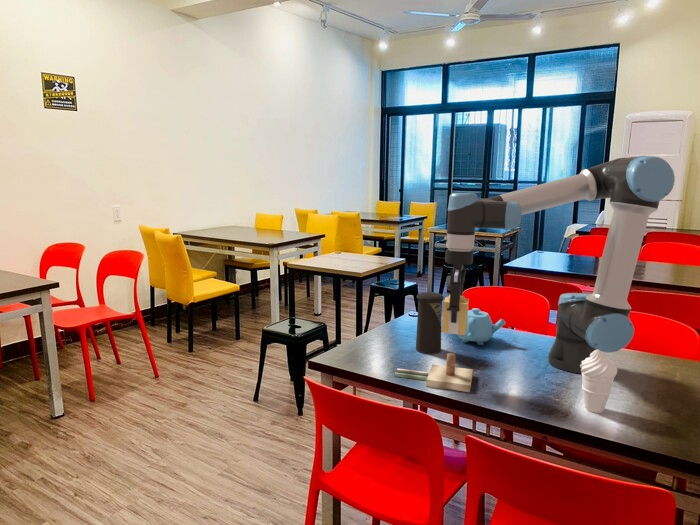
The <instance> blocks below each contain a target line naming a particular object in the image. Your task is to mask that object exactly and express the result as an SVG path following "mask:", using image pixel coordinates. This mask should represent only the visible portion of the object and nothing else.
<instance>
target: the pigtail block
mask: <svg viewBox="0 0 700 525" xmlns="http://www.w3.org/2000/svg"><path fill="white" fill-rule="evenodd" d="M473 373H474V369H473V368H472V369H471V368H464V367H456V354H455V353H452V352H449V353H447V354H446V365H440V364H431V367H430V369H429V371H428V372H427V371H419V370H413V369H405V368H396V370H395V372H394V375H393V376H394V377H396V378H404V379H405V378H406V379H411V380H412V379H413V380H420V381H425V386H426V387H430V388H435V389H442V390H451V391H459V392H465V393H470V392H471V387H472V380H473V377H474V376H473Z"/></svg>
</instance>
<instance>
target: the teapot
mask: <svg viewBox="0 0 700 525" xmlns="http://www.w3.org/2000/svg"><path fill="white" fill-rule="evenodd" d="M506 323H507V322H506V321H505V320H504V319H502V318H500V319H499V320H498V321H497V322H496V323H494V324H493V321H492V319H491V316H490V315H489V313H488V312H485V311H481V310H480V308H475V307H474V308H472V309H471V310H470V309H468V317H467V329H466V333H465V335H460V334H456V336H457V337H458V338H459V339H461V341H462V342H461V343H468V342H476V344H477V345H480V346H483V345H484V344H485V343H486V342H488V341H490V340H491V338H492V337H493V336H494V333H495V332H497V331H498V330H500V328H502V327H503V326H505V325H506Z"/></svg>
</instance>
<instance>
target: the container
mask: <svg viewBox="0 0 700 525" xmlns="http://www.w3.org/2000/svg"><path fill="white" fill-rule="evenodd" d="M416 299H417V319H416V320H417V321H416V322H417V324H416V339H415V350H416V351H417V352H419V353H421V354H431V355H432V354H438V353H440V352H441V351H442V318H443V302H444V300H445V298H444V295H443V294H441V293H439V292H433V291H423V292H420V293H418V294H417V295H416Z"/></svg>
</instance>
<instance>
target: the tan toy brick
mask: <svg viewBox="0 0 700 525" xmlns="http://www.w3.org/2000/svg"><path fill="white" fill-rule="evenodd" d="M469 301H470V299H469V298H465V296H464V294H462V295H460V304H459V309H460V310H459V311H460V313H459V328H458V334H460V335H465V333H466V329H467V317H468V310H469ZM449 305H450V294H449V295H448V296H445V298H444V299H443V301H442V322H441V333H445V334H449V333H448V325H449V311H448V310H447V308H449ZM450 334H452V333H450Z"/></svg>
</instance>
